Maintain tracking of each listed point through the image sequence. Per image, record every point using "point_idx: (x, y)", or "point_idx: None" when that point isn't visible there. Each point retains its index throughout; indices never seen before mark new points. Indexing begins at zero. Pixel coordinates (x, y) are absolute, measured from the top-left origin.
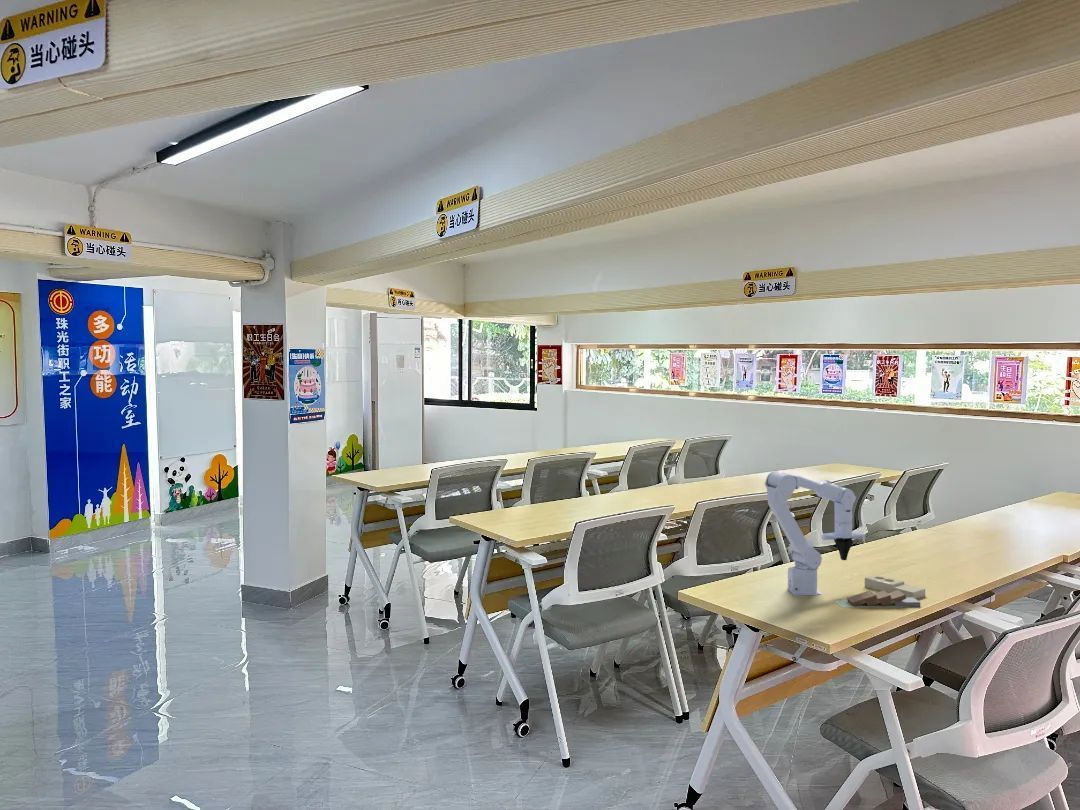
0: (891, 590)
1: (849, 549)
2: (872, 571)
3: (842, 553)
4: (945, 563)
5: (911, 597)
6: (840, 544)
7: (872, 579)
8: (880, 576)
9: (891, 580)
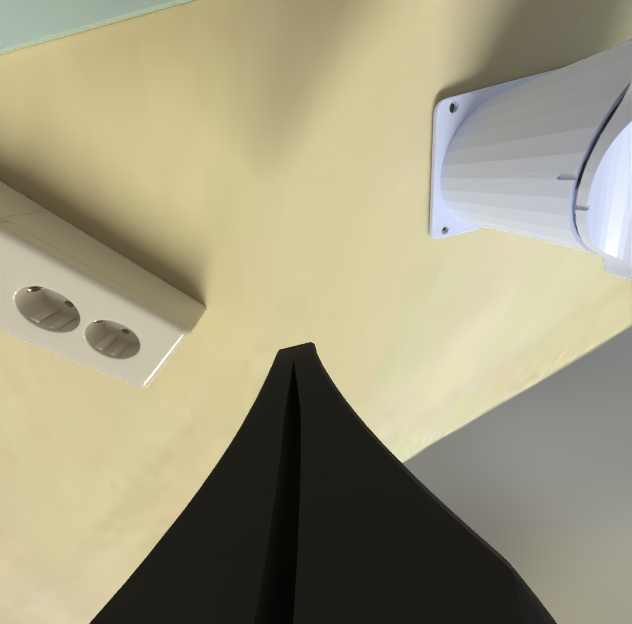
0: (36, 220)
1: (221, 458)
2: (195, 462)
3: (328, 382)
4: (26, 543)
5: None
6: (453, 552)
7: (144, 309)
8: (115, 364)
9: (46, 325)
